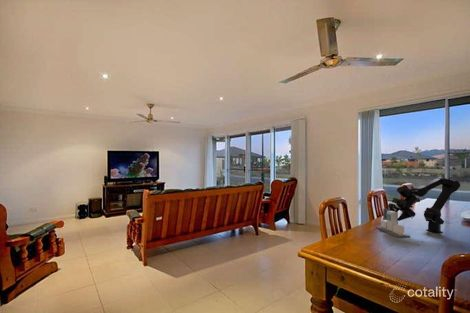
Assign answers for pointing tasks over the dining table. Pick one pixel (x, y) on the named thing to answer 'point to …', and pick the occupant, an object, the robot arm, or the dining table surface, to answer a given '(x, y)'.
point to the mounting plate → (397, 229)
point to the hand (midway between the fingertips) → (392, 218)
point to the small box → (386, 214)
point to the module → (391, 219)
